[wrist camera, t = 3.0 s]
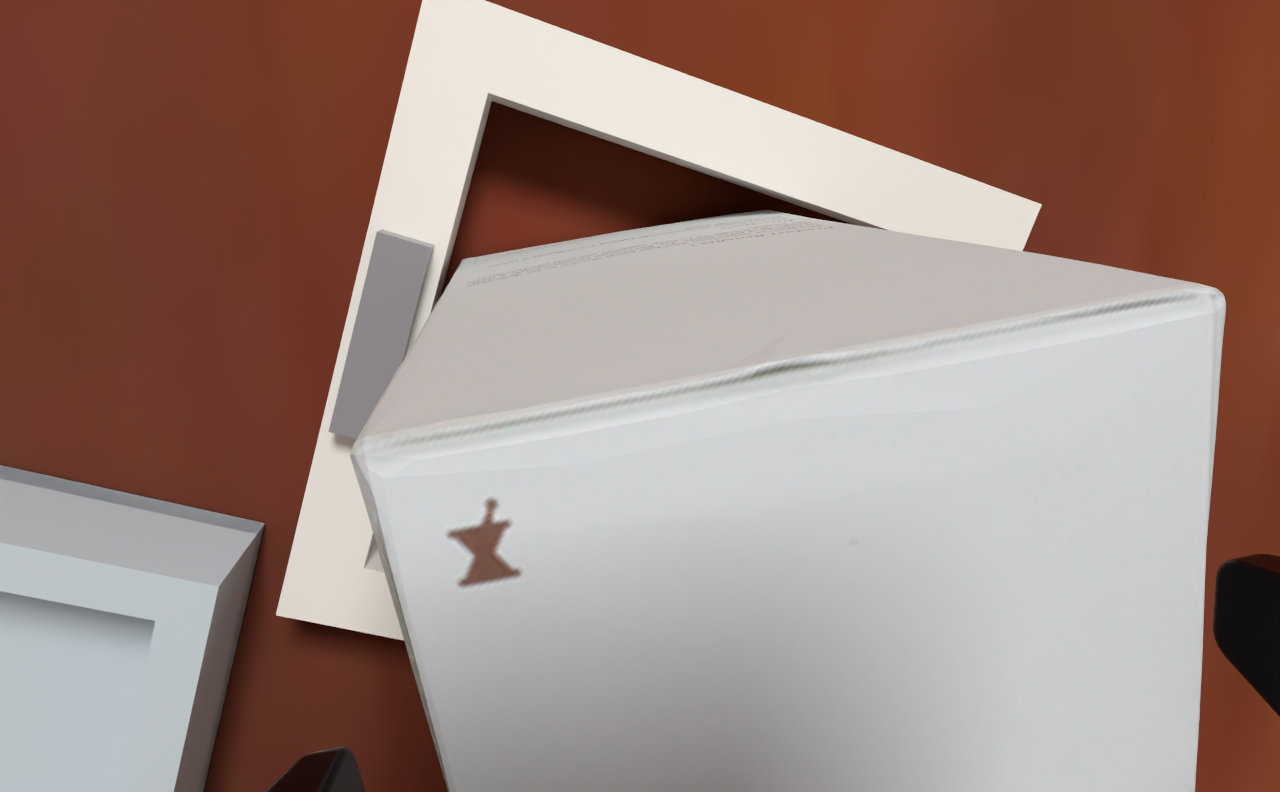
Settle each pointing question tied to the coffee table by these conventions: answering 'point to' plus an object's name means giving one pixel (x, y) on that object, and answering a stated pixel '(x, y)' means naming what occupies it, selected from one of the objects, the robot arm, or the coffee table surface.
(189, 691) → the tray
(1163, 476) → the supplement box
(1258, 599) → the robot arm
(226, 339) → the coffee table surface
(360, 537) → the frame
